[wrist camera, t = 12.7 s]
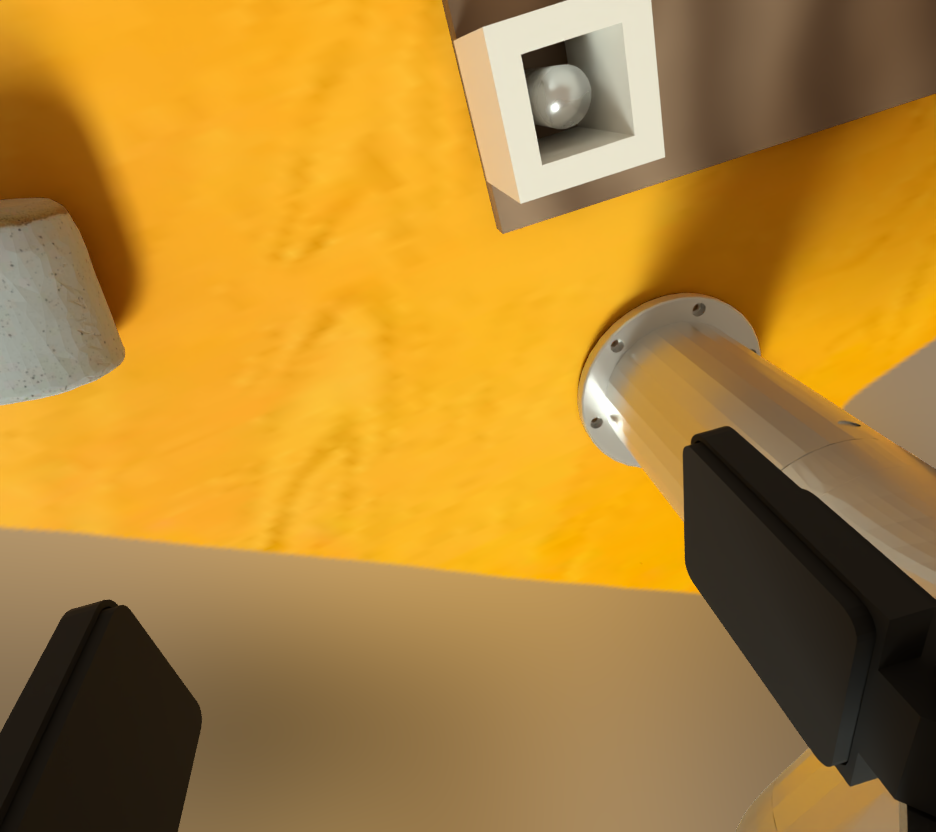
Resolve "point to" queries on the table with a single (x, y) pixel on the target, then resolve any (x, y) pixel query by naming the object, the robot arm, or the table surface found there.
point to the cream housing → (611, 108)
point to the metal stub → (558, 95)
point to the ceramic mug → (49, 305)
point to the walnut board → (739, 80)
